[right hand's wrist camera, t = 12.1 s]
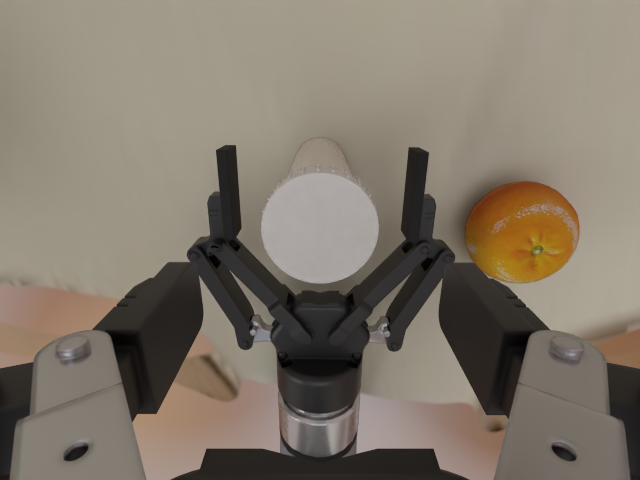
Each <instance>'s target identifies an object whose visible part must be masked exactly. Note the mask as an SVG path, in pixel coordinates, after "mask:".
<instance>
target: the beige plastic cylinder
mask: <svg viewBox="0 0 640 480" xmlns="http://www.w3.org/2000/svg"><path fill="white" fill-rule="evenodd" d="M317 165H319V166H325V167H332V166H334V168H335V169H339V170H341V171H343V172H345V171H348V174H349V175H351V176H352V174H351V171H350V169H349V166H348V164H347V162H346V159H345V157H344V154H343V152H342V150H341V149H340V147H339V146H338V145H337V144H336V143H335V142H333V141H331V140H329V139H326V138H314V139H311V140H309V141H307V142H305V143H304V144H303V145H302V146H301V147H300V149H299V150H298V152H297V154H296V157H295V159H294V162H293V164H292V166H291V169H290V171H289V173H292V174H293V173H294V172H296V171H299V170H301V169H302V167H305V168H309V167H316V166H317ZM288 175H289V174H288ZM287 177H288V176H287ZM352 177H353V176H352Z"/></svg>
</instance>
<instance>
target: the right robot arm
mask: <svg viewBox="0 0 640 480" xmlns="http://www.w3.org/2000/svg"><path fill="white" fill-rule="evenodd" d="M202 321H203V304H202V296H201V288H200V281H199V273H198V268H197V265H196V263H194V262H168V263H167V264H166V265H165V266H164V267H163V268H162V269H161V270H160V272H159V273H158V274H157V275H156V276H155V277H154V278H149V279H147V280H145V281H144V282H142V283H140V284H138V285H136V286H134V288H133V289H132V290H131V291H130V292H129V293H128V294H127V295H126V296H125V298H123V299H122V300H121V301H120V302H119V303H118V304H117V307H114V308H113V309H112V310H111V311H110V312H109V313H108V314H107V315H106V316H105V317H104V318H103V319H102V320H101V321H100V322H99V323H98V324H97V325H96V326H95V327H94V328H93V329H92V330H87V331H80V332H76V333H72V334H69V335H66V336H63V337H61V338H58V339H56V340H54V341H53V342H51V343H49V344H48V345H46V346H45V347H43V348H42V349H41V350H40V351H39V352H38V353H37V354H36V356H35V358H34V361H33V362H32V363H27V364H21V365H16V366H11V367H6V368H0V480H146V476H145V472H144V468H143V464H142V460H141V456H140V452H139V448H138V444H137V440H136V436H135V432H134V428H133V424H132V422H133V420H134V419H135V417H136V415H137V414H157V412H158V410H159V408H160V406H161V404H162V402H163V400H164V398H165V396H166V394H167V392H168V390H169V389H170V387H171V385H172V383H173V381H174V379H175V377H176V375H177V373H178V371H179V369H180V367H181V365H182V363H183V361H184V360H185V358H186V356H187V354H188V352H189V350H190V348H191V346H192V344H193V342H194V340H195V338H196V336H197V334H198V332H199V330H200V328H201V326H202ZM439 322H440V326H441V329H442V331H443V333H444V335H445V337H446V339H447V341H448V343H449V345H450V346H451V348H452V350H453V352H454V354H455V356H456V358H457V360H458V362H459V364H460V366H461V367H462V369H463V371H464V373H465V375H466V377H467V379H468V381H469V383H470V385H471V387H472V388H473V390H474V392H475V394H476V396H477V398H478V400H479V402H480V404H481V406H482V407H483V409H484V411H485V413H486V415H506V416H507V418H508V424H507V428H506V432H505V436H504V440H503V444H502V448H501V452H500V456H499V460H498V464H497V468H496V473H495V476H494V480H640V369H637V368H632V367H627V366H622V365H617V364H611V363H607V361H606V358H605V356H604V354H603V353H602V352H601V351H600V350H599V349H598V348H597V347H595V346H594V345H592V344H591V343H589V342H587V341H586V340H584V339H582V338H579V337H577V336H574V335H571V334H568V333H564V332H560V331H553V330H550V329H549V328H548V327H547V326H546V325H545V324H544V323H543V322H542V321H541V320H540V319H539V318H538V317H537V316H536V315H535V314H534V313H533V312H532V311H531V310H530V309H529V308H528V307H526V305H525V304H524V303H523V302H522V301H521V300H520V299H518V297H517V296H516V295H515V294H514V293H513V292H512V291H511V290H510V289H509V288H508V287H507V286H505V285H503V284H501V283H500V282H498V281H496V280H494V279H489V278H488V277H487V276H486V275H485V274H484V273H483V272H482V271H481V270H480V269H479V267H478V266H477V265H476V264H475V263H447V264H446V266H445V268H444V274H443V281H442V289H441V296H440V304H439ZM171 480H469V479H467V478H465V477H462V476H460V475H457V474H454V473H451V472H449V471H445V470H442V469H440V468H439V465H438V461H437V458H436V455H435V452H434V449H375V450H371V451H367V452H363V453H359V454H354V455H350V456H346V457H342V458H338V459H334V460H330V461H326V462H314V461H310V460H306V459H302V458H298V457H294V456H290V455H286V454H282V453H277V452H273V451H269V450H265V449H206V452H205V455H204V458H203V461H202V464H201V468H200V469H198V470H195V471H191V472H189V473H186V474H183V475H180V476H178V477H175V478H173V479H171Z"/></svg>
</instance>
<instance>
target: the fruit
mask: <svg viewBox="0 0 640 480" xmlns="http://www.w3.org/2000/svg"><path fill="white" fill-rule="evenodd" d="M578 239H579V221H578V216H577V213H576V211H575V210H574V208H573V207H572V205H571V204H570V203H569V202H568V201H567V200H566V199H565V198H564V197H563V196H562V195H561V194H560V193H559V192H558V191H556V190H555V189H552V188H551V187H549V186H546V185H543V184H540V183H536V182H515V183H510V184H506V185H503V186H500V187H498V188H496V189H494V190H492V191H491V192H490V193H489V194H487V195H486V196H485V197H484V198H483V199H482V200H481V201H480V202H479V203H478V204H477V205H476V206H475V207H474V208H473V210H472V211H471V213H470V215H469V217H468V220H467V224H466V229H465V243H466V247H467V250H468V252H469V255H470V257H471V259H472V260H473V262H474V263H475V264H476V265H477V266H478V267H479V269H481V270H482V271H483V272H484V273H486V274H487V275H489V276H491V277H493V278H495V279H498V280H501V281H504V282H509V283H529V282H535V281H538V280H541V279H543V278H546V277H548V276H550V275H552V274H553V273H555V272H556V271H558V270H559V269H561V268H562V267H563V266H564V265H565V264H566V263H567V262H568V260H569V259H570V258H571V256H572V255H573V253H574V251H575V249H576V247H577V243H578Z"/></svg>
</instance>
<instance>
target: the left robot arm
mask: <svg viewBox="0 0 640 480" xmlns="http://www.w3.org/2000/svg"><path fill="white" fill-rule="evenodd" d="M216 154H217V166H218V177H219V189H220V192H214V193H213V194H211V195H210V196H209V199H208V203H207V204H208V214H209V224H210V236H207V237H200V238H199V239H198V240H197V241H196V242H195V243H194V244H193V245H192V247H191V248H190V249H189V250H188V252H187V257H188V259H189V261H190V262H194V263H196V265H197V268H198V273H199V276H200V277H201V279H202V280H203V281H204V283H205V284H206V286H207V287H208V289H209V290H210V292H211V293H212V295H213V296H214V298H215V299H216V301H217V302H218V304H219V305H220V307H221V308H222V310H223V311H224V313H225V314H226V316H227V317H228V319H229V320H230V322H231V323H232V325H233V326H234V328H235V333H236V337H237V342H238V345H239V347H240V348H241V349H243V350H248V349H250V348H251V347H252V345H253V342H263V341H271V342H272V343H273V344H274V346H275V348H276V351H277V375H278V388H279V392H278V403H279V421H280V453H282V454H286V455H290V456H294V457H298V458H302V459H306V460H310V461H314V462H326V461H330V460H334V459H338V458H342V457H346V456H350V455H354V454H356V440H357V428H358V420H359V404H360V386H361V372H362V357H363V350H364V348H365V346H366V345H367V344H368V342H373V343H383V344H387V347H388V349H389V350H390V351H393V352H394V351H398V350H399V349H401V347H402V343H403V339H404V335H405V331H406V329H407V327H408V326H409V324H410V323H411V322H412V320H413V319H414V317H415V316H416V314H417V313H418V312H419V310H420V309H421V307H422V306H423V305H424V303H425V302H426V300H427V299H428V297H429V296H430V295H431V293H432V292H433V290H434V289H435V288H436V286H437V285H438V283H439V282H440V280H441V279H442V278H443V274H444V268H445V266H446V264H447V263H453V262H454V260H455V255H454V253H453V252H452V251H451V249H450V248H449V247H448V246H447V245H446V244H445V242H444V241H442V240H436V239H433V238H432V234H433V226H434V218H435V210H436V204H435V200H434V198H433V197H431V196H430V195H429V194H424V191H425V182H426V173H427V165H428V156H429V152H427V151H425V150H423V149H421V148H415V147H409V151H408V161H407V172H406V182H405V193H404V203H403V213H402V224H401V231H402V232H403V234H404V236H405V237H406V240H405V241H404V242H403V243H402V244H401V245H400V246H399V247H398V248H397V249H396V250H395V251H394V252H393V253H392V254H391V255H390V256H389V257H388V258H387V259H385V260H384V261H383V262H382V263H381V264H380V265H379V266H378V267H377V268H376V269H375V270H374V271H373V272H372V273H371V274H370V275H369V276H368V277H367V278H366V279H365V280H364V281H363V282H362V283H361V284H360V285H356V286H355V287H354V288H353V289H352V290H351V291H350V292H349V293H348V294H347V295H345V296H344V295H342V294H339V291H327V292H323V293H318V292H314V291H302V293H301V294H298V295H295V294H294V293H293V292H292V291H291V290H290V289H289V288H288V287H287V286H286V285H284V284H281V283H280V282H279V281H278V280H277V279H276V278H275V277H274V276H273V275H272V274H271V273H270V272H269V271H268V270H267V269H266V268H265V267H264V266H263V265H262V264H261V263H260V262H259V261H258V259H257V258H256V257H255V256H254V255H253V254H252V253H251V252H250V251H249V250H248V249H247V248H246V247H245V246H244V245H243V244H242V243H241V242H240V241H239V240H238V239H237V238H236V236H237V235H238V233H239V231H240V230H241V214H240V200H239V185H238V171H237V156H236V145H225V146H223V147H221V148H219V149H217V150H216ZM229 270H230V271H231V272H233V273H234V274H235V275H236V276H237V277H238V278H239V279H240V280H241V281H242V282H243V283H244V284H245V285H246V286H247V287H248V288H249V289H250V290H251V291H252V292H253V293H254V294H255V295H256V296H257V297H258V298H259V299H260V300H261V301H262V302H263V303H264V304H265V305H266V306H267V308H268V310H269V312H270V314H271V315H272V316H273V317H274V318H275V320H274V322H273V323H272V325H267V324H265V323H264V322H263V320H262V318H261V317H260V315H258V314H256V315H255V314H254V311H253V308H252V306H251V304H250V302H249V301H248V299H247V298H246V296H245V294H244V293H243V291H242V290H241V288H240V286H239V285H238V283H237V282H236V280H235V279H234V277H233V275H232V274H231V272H230V271H229ZM412 271H413V272H412ZM411 272H412V273H411ZM410 273H411V275H410V276H409V278H408V279H407V281H406V282H405V284H404V285H403V287H402V288H401V290H400V291H399V293H398V294H397V296H396V297H395V299H394V300H393V302H392V303H391V305H390V306H389V308H388V310H387V313H386V316H381V317H380V319H379V320H378V322H377V323H376V324H375V325H374V326H368V324H367V322H366V321H365V320H366V319H367V318H368V317H369V316H370V315H371V313H372V311H373V308H374V307H375V306H376V305H377V304H378V303H379V302H380V301H381V300H383V299H384V298H385V297H386V296H387V295H388V294H389V293H390V292H391V291H392V290H393V289H394V288H395V287H396V286H397V285H398V284H400V283H401V282H402V281H403V280H404V279H405V278H406V277H407V276H408V275H409V274H410Z"/></svg>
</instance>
